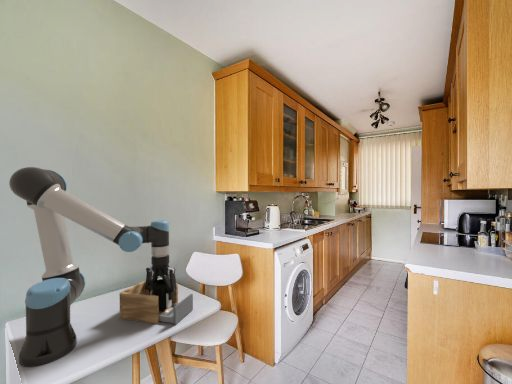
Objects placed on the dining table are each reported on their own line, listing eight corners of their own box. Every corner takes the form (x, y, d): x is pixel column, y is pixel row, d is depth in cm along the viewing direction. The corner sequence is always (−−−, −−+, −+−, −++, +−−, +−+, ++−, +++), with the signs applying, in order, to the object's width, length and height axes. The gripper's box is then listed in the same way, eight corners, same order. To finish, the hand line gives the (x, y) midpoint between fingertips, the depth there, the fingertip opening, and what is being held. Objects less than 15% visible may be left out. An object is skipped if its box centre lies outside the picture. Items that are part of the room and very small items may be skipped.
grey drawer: (175, 324, 99) (175, 307, 99) (139, 319, 104) (138, 302, 104) (192, 309, 112) (192, 294, 112) (159, 305, 117) (159, 290, 117)
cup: (163, 313, 104) (163, 285, 104) (148, 311, 106) (147, 284, 106) (173, 305, 112) (173, 279, 112) (158, 304, 113) (158, 278, 113)
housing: (156, 323, 101) (156, 297, 101) (119, 318, 106) (119, 293, 106) (178, 307, 115) (177, 284, 115) (144, 303, 120) (144, 280, 120)
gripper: (185, 254, 110) (185, 304, 110) (147, 252, 115) (147, 300, 115) (175, 258, 103) (176, 312, 102) (135, 256, 108) (135, 307, 108)
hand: (161, 305), depth 109 cm, fingers closed on cup, 8 cm apart
